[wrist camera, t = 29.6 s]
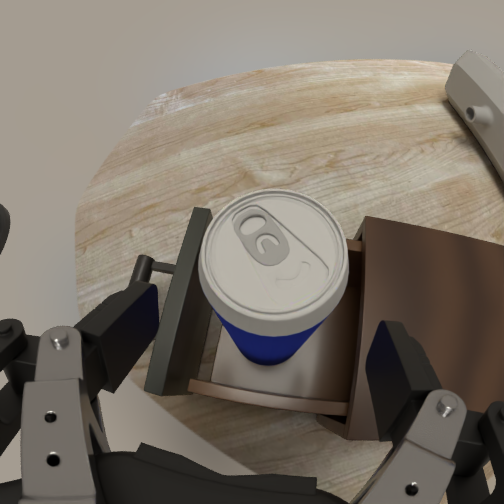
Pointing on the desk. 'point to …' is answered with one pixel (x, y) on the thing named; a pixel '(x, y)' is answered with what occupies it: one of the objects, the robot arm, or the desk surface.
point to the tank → (480, 102)
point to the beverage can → (273, 271)
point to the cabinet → (429, 313)
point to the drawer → (229, 356)
